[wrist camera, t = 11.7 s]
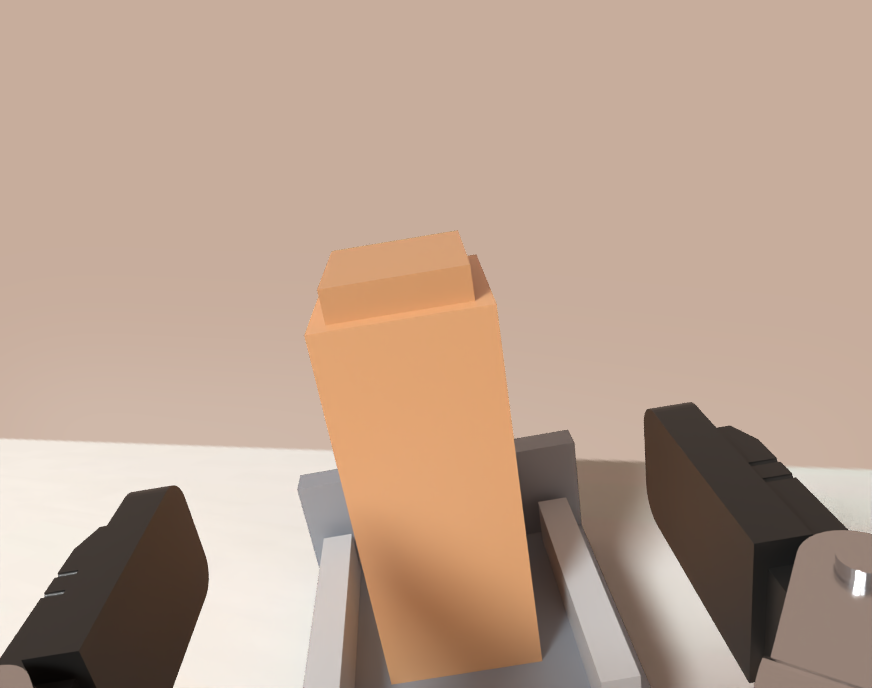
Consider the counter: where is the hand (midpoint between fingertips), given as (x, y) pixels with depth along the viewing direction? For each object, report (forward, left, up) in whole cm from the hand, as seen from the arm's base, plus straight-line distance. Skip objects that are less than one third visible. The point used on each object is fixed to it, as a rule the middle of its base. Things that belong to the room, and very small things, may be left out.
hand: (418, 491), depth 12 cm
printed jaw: (0, -5, -8) cm, 10 cm away
